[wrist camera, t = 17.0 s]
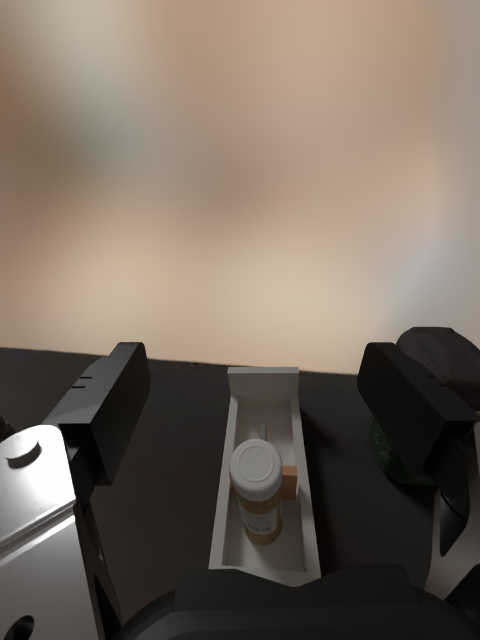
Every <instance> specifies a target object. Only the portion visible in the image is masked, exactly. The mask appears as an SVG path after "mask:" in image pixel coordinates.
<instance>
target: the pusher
mask: <svg viewBox="0 0 480 640" xmlns="http://www.w3.org/2000/svg"><path fill="white" fill-rule="evenodd" d="M261 440H264V441H266V442H267V425H265V424H262V425H261ZM282 468H283V478H282V483H281V499H286V500H296V489H297V476H298V475H297V466H285V465H282ZM229 476H230V481H231V485H232V489H233V493H234V497H237V493H236V489H235V487H234V485H233V482H232V478H231V473H230V465H229Z"/></svg>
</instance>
